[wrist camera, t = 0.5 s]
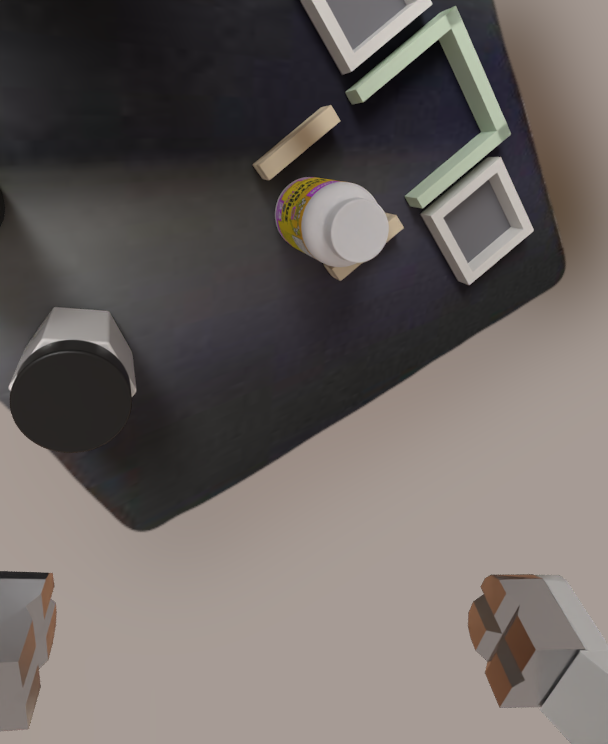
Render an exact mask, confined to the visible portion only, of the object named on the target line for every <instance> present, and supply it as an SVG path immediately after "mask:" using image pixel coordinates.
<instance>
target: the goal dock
mask: <svg viewBox="0 0 608 744" xmlns="http://www.w3.org/2000/svg"><path fill="white" fill-rule="evenodd" d="M438 39H439V42H440V44H441V46H442V48H443V50H444V52H445V55H446V57H447V59H448V61H449V63H450V65H451V68H452V70H453V72H454V74H455V76H456V78H457V81H458V83H459V85H460V87H461V89H462V91H463V94H464V96H465V98H466V100H467V102H468V105H469V107H470V109H471V111H472V113H473V115H474V118H475V120H476V122H477V124H478V126H479V128H480V131H481V132H480V133H479V134H478V135H477V136H476V137H474V138H473V139H472V140H471V141H470V142H468V143H467V144H466V145H465V146H464V147H462V148H461V149H460V150H459V151H458V152H457V153H455V154H454V155H453V156H452V157H451V158H449V159H448V160H447V161H446V162H445V163H443V164H442V165H441V166H440V167H439V168H437V169H436V170H435V171H434V172H433V173H432V174H430V175H429V176H428V177H427V178H426V179H424V180H423V181H422V182H421V183H420V184H418V185H417V186H416V187H415V188H414V189H413V190H411V191H410V192H409V193H408V194H407V195H405V196H404V197H405V198H406V200H407V202H408V204H409V205H410V206H411V207H417V208H422V209H423V208H424V207H425V206H426V205H428V204H429V203H430V202H431V201H432V200H433V199H435V198H436V197H437V196H438V195H439V194H441V193H442V192H443V191H444V190H445V189H447V188H448V187H449V186H450V185H451V184H453V183H454V182H455V181H456V180H457V179H458V178H460V177H461V176H462V175H463V174H464V173H466V172H467V171H468V170H469V169H470V168H472V167H473V166H474V165H475V164H476V163H477V162H479V161H480V160H481V159H482V158H483V157H485V156H486V155H487V154H488V153H489V152H491V151H492V150H493V149H494V148H495V147H496V146H498V145H499V144H500V143H501V142H502V141H504V140H505V139H506V138H507V137H508V136H510V135H511V132H510V130H509V128H508V125H507V123H506V121H505V119H504V116H503V114H502V112H501V109H500V107H499V105H498V102H497V100H496V98H495V95H494V93H493V91H492V88H491V86H490V84H489V81H488V79H487V77H486V75H485V72H484V70H483V68H482V65H481V63H480V61H479V58H478V56H477V54H476V51H475V49H474V47H473V44H472V42H471V40H470V37H469V35H468V33H467V31H466V28H465V26H464V24H463V21H462V19H461V17H460V14H459V12H458V10H457V7H456V6H455V7H452V8H450V9H447V10H445V11H443V12H440V13H439V14H438V15H437V16H436V17H434V18H433V19H432V20H431V21H430V22H428V23H427V24H426V25H425V26H424V27H422V28H421V29H420V30H419V31H418V32H416V33H415V34H414V35H413V36H412V37H410V38H409V39H408V40H407V41H406V42H404V43H403V44H402V45H401V46H400V47H398V48H397V49H396V50H395V51H394V52H392V53H391V54H390V55H389V56H388V57H386V58H385V59H384V60H383V61H382V62H380V63H379V64H378V65H377V66H376V67H375V68H373V69H372V70H371V71H370V72H369V73H367V74H366V75H365V76H364V77H363V78H361V79H360V80H359V81H358V82H357V83H355V84H354V85H353V86H352V87H351V88H349V89H348V90H347V91H346V92H345V93H346V95H347V97H348V99H349V100H350V102H351V104H357V103H362V102H364V101H365V100H367V99H368V98H369V97H370V96H371V95H373V94H374V93H375V92H376V91H377V90H379V89H380V88H381V87H382V86H383V85H384V84H386V83H387V82H388V81H389V80H390V79H392V78H393V77H394V76H395V75H396V74H398V73H399V72H400V71H401V70H402V69H404V68H405V67H406V66H407V65H408V64H410V63H411V62H412V61H413V60H414V59H416V58H417V57H418V56H419V55H420V54H422V53H423V52H424V51H425V50H426V49H428V48H429V47H430V46H431V45H432V44H433V43H435V42H436V41H437V40H438Z"/></svg>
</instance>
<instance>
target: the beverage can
mask: <svg viewBox="0 0 608 744" xmlns="http://www.w3.org/2000/svg"><path fill="white" fill-rule="evenodd" d="M4 213H5V205H4V199H3V196H2V193H1V191H0V226H1V224H2V222H3V219H4Z"/></svg>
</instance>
